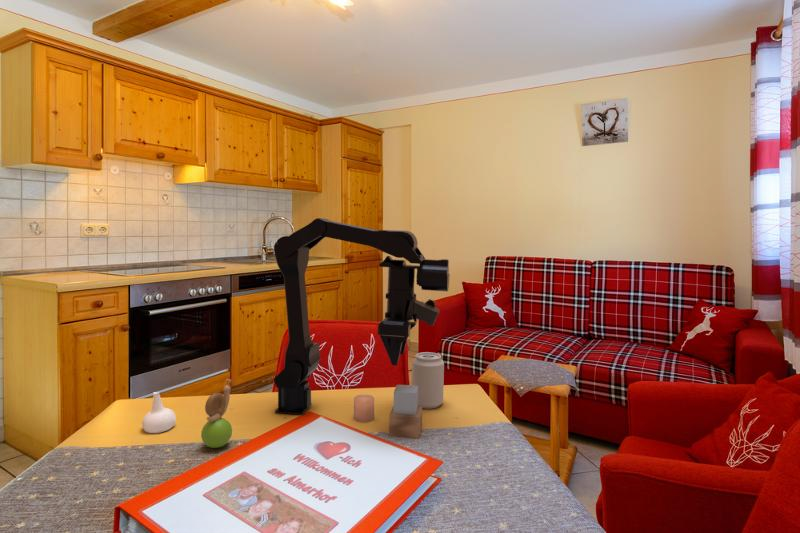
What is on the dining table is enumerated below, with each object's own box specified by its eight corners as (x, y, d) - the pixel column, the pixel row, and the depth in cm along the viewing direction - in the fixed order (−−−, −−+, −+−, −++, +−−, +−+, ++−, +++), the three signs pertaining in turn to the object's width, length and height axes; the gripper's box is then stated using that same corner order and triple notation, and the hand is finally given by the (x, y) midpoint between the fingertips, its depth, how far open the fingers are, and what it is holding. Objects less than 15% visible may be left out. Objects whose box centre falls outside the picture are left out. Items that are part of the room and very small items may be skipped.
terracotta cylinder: (351, 421, 101) (351, 401, 101) (356, 413, 105) (356, 394, 105) (371, 422, 100) (371, 402, 100) (375, 414, 105) (376, 395, 104)
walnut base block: (388, 436, 94) (389, 415, 94) (393, 424, 100) (394, 404, 100) (418, 439, 93) (418, 417, 93) (421, 426, 99) (422, 406, 99)
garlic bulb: (182, 423, 99) (181, 387, 98) (163, 436, 93) (162, 397, 92) (155, 421, 100) (154, 385, 99) (135, 433, 94) (134, 395, 93)
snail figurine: (241, 440, 91) (241, 380, 90) (218, 455, 85) (217, 390, 84) (218, 436, 93) (218, 377, 92) (194, 450, 87) (193, 387, 86)
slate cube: (393, 413, 94) (393, 391, 94) (396, 405, 99) (397, 384, 99) (415, 415, 94) (415, 393, 93) (417, 406, 98) (418, 385, 98)
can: (443, 399, 115) (444, 351, 114) (442, 410, 108) (444, 359, 107) (412, 397, 116) (413, 350, 115) (410, 409, 108) (411, 358, 108)
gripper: (434, 296, 91) (431, 375, 92) (440, 285, 109) (437, 351, 110) (378, 293, 92) (375, 370, 93) (393, 283, 111) (391, 347, 112)
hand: (397, 359), depth 102 cm, fingers open, 9 cm apart
